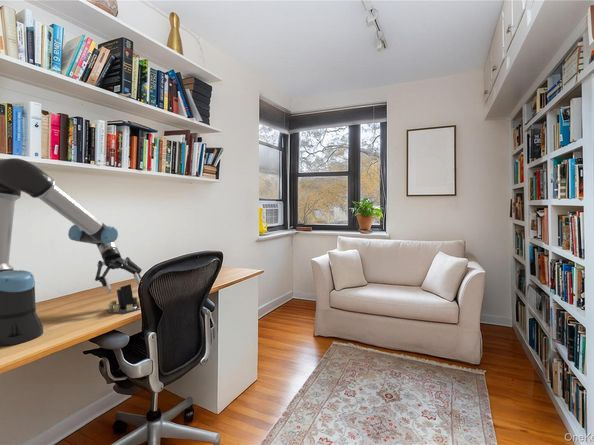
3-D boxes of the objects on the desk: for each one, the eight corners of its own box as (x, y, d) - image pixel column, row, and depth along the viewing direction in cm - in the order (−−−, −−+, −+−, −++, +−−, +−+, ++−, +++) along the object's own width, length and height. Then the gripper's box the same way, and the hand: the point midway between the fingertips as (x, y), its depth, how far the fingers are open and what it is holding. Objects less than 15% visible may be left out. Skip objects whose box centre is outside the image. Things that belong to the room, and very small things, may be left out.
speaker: (137, 306, 148) (134, 283, 147) (124, 310, 143) (121, 287, 143) (130, 305, 152) (127, 283, 152) (117, 308, 148) (114, 286, 148)
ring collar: (99, 313, 142) (99, 306, 142) (122, 302, 157) (122, 296, 156) (131, 314, 140) (131, 306, 140) (151, 303, 155) (151, 297, 155)
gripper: (133, 254, 169) (149, 287, 161) (78, 261, 150) (93, 299, 141) (138, 245, 166) (154, 278, 157) (82, 250, 146) (97, 288, 138)
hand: (125, 288), depth 149 cm, fingers open, 13 cm apart
